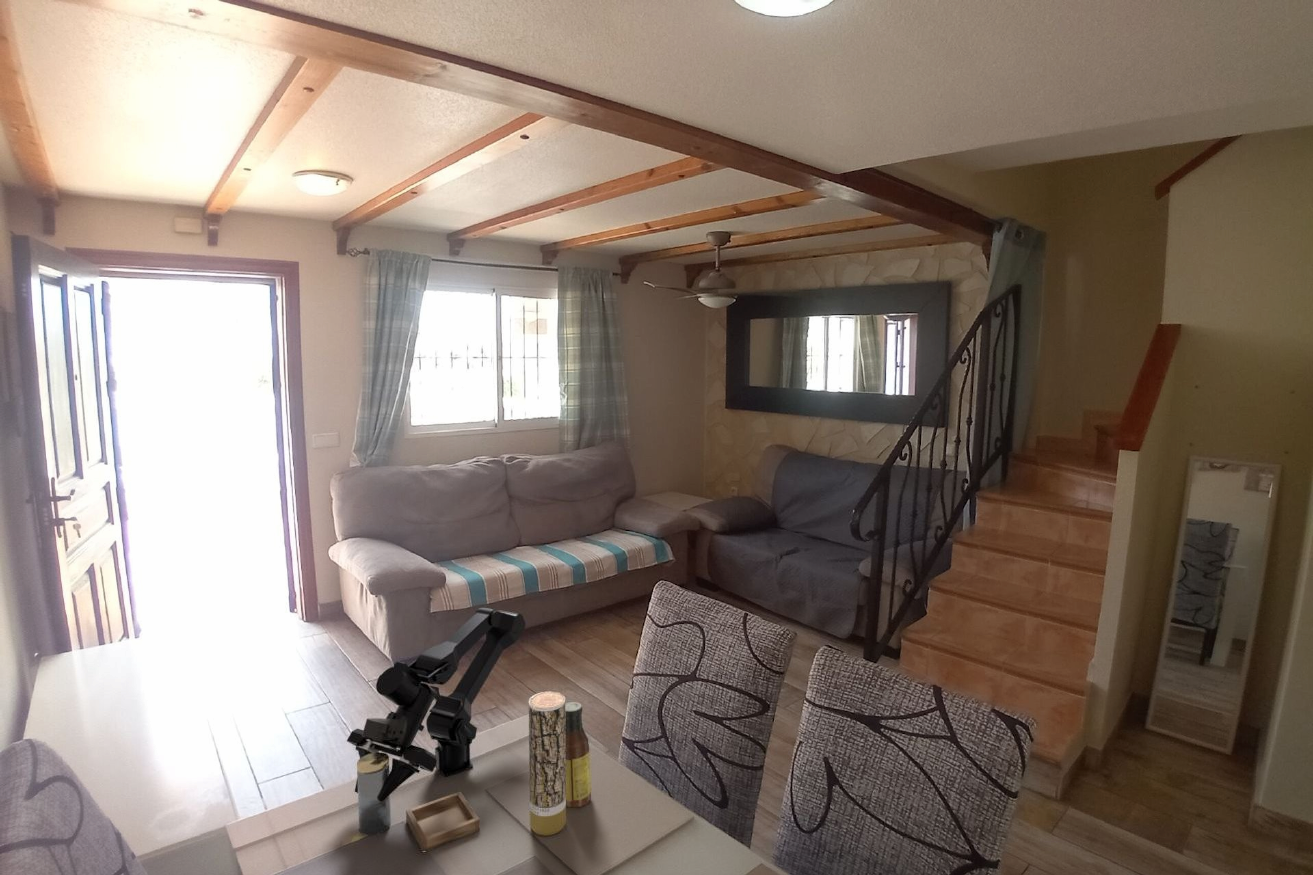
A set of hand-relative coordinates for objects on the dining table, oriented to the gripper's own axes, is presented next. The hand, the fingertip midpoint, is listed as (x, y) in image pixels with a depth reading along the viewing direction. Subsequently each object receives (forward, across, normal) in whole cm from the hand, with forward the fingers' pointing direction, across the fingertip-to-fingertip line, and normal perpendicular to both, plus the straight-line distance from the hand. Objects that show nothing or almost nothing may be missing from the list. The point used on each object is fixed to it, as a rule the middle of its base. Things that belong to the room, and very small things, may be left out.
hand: (368, 796), depth 126 cm
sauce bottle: (-12, +30, +22) cm, 40 cm away
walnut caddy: (0, +12, +9) cm, 15 cm away
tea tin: (+4, 0, +6) cm, 7 cm away
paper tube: (-6, +30, +16) cm, 34 cm away
